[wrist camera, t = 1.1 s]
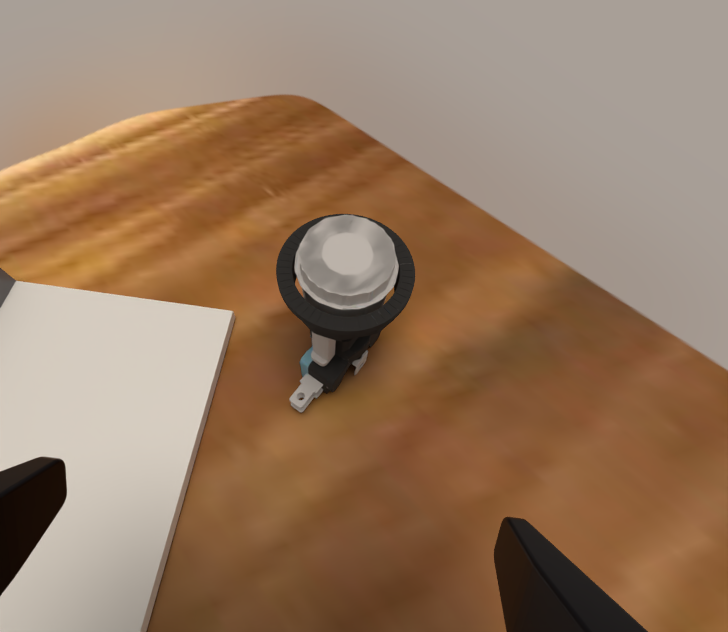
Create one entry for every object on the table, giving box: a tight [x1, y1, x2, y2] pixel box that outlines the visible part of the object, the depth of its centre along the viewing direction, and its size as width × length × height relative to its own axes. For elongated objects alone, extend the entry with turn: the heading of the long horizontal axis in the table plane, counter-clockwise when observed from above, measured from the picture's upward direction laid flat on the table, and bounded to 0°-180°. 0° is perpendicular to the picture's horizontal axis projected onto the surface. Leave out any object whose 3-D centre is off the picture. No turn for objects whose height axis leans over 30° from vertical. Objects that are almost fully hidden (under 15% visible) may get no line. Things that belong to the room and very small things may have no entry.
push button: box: [276, 214, 415, 413], centre depth 20 cm, size 7×5×10 cm
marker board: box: [0, 268, 235, 632], centre depth 20 cm, size 18×14×2 cm
